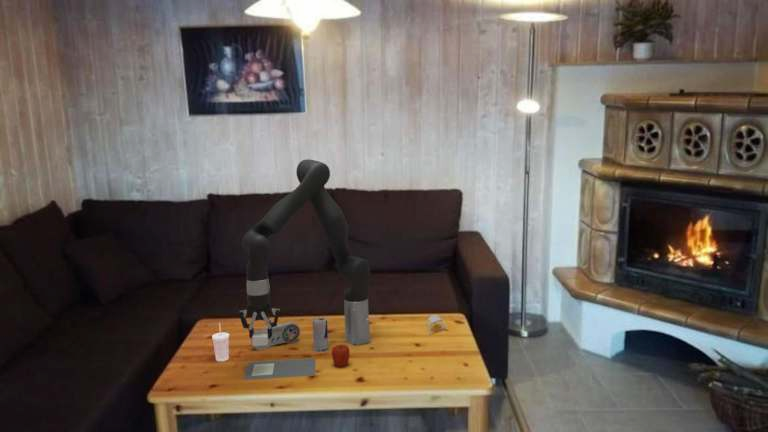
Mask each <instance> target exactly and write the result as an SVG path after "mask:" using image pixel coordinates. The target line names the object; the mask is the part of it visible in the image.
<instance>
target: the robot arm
mask: <svg viewBox="0 0 768 432" xmlns="http://www.w3.org/2000/svg"><path fill="white" fill-rule="evenodd" d="M295 174H296V177H297V180H298V182H299V185H298V186H296V188H295V189H293V190H292V191H291V192H290V193H288V194H287V195H286V196H284V197H283V198H282V199H280V200H279V201H277V202H276V203H275V204H274V205H273V206H272V207H270V210H269V211H268V212H267V213H266V214H265V215H264V217H263V218H262V219H261V220H259V222H257V223H256V224H255V225H254V226H252V227H251V228H250V229H249V230H248V231H246V233H245V234H244V236H243V237H242V240H241V247H242V249H243V251H245V252H246V253H248V254H249V261H248V262H247V263H246V266H245V268H246V269H245V270H246V271H245V272H246V299H247V301H246V302H247V307H246V309H244V310H243V309H240V310H239V312H238V315H239V319H240V322H241V324H242V327H243V328H244V329H248V336H249V339H251V338H252V336H253V334H254V329H255V328H254V325H255V323H256V321H264V323H265V324H266V327H268V329H267V331H268V339H270V337H272V327H276V326H277V325H278V320H279V315H280V311H281V309H280V307H277V308H274V307H272V305H271V295H270V292H271V291H270V289H271V288H270V281H269V276H268V275H269V273H268V263H269V256H270V243H269V241H268V238H270V237H271V236H273V235H277V234H279V232H280V231H282V229H283V228H284V226H285V225H286V224H287V223H288V221H290V219H291V218H292V217H293V216H294V215H295V214H296V212H297V211H298V210H299V209H300V208H301V207H302V206H303V205H304V204H305V203H307V201H309V202H310V204H311V206H312V209H313V211H314V213H315V215H316V218H317V221H318V223H319V226H320V227H321V230H322V232H323V234H324V236H325V239H326V241H327V242H328V246H329V248H330V250H331V252H332V255H333V258H334V261H335V264H336V268H337V272H338V273H339V275H340V277H341V278H343V279H344V280H346V281H350V287H349V288H348V289H345V290H344V292H343V305H344V306H343V307H344V334H345V336H344V337H345V343H348V344H350V345H353V346H361V345H366V344H369V343H371V339H370V338H371V337H370V335H371V333H370V330H371V329H370V316H369V292H370V289H371V268H370V263H369V262H368V260H366V259H364V258H361V257H357V256H355V255H353V253H352V251H351V249H350V247H349V243H348V235H349V224H348V223H347V220H346V217H345V215H344V212H343V211H342V209H341V207H340V206H339V205H338V204H337V202H336V201H335V200H334V199H333V198H332V196H331V195H330V194H329V192H328V191H327V188H326V187H325V186H326V184H327V183H328V182H329V180H330V177H331V171H330V167H329V166H328V165H327V164H326V163H324V162H321V161H319V160H314V159H308V158H307V159H303V160H301V161H300V162H299V163H298V164H297V166H296V173H295ZM271 313H272V314H273V316H274V319H273V322H272V321H271V318H270V314H271ZM247 314H248V315H249V317H250V318H251V320H250V323H248V320H247V318H246V316H247Z"/></svg>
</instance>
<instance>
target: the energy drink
mask: <svg viewBox="0 0 768 432" xmlns="http://www.w3.org/2000/svg"><path fill="white" fill-rule="evenodd" d="M328 332H329V331H328V320H327V318H325V317H315V318H314V319H313V320H312V333H313V334H312V335H313V336H312V337H313V350H314V351H315V352H316V353H317V352H318V353H320V352H321V353H322V352H323V353H324V352H326V351H328V350H329V333H328Z"/></svg>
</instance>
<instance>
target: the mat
mask: <svg viewBox="0 0 768 432" xmlns="http://www.w3.org/2000/svg"><path fill="white" fill-rule="evenodd" d="M245 368H246V369H245V373H244V376H243V381H247V380H263V379H276V378H277V379H278V378H292V377H293V378H295V377H308V376H311V377H312V376H316V357H310V358H309V357H308V358H297V359H295V358H292V359H281V360H280V359H278V360H277V359H276V360H261V361H249V362H248V361H247V365H246V367H245Z"/></svg>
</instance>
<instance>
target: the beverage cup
mask: <svg viewBox="0 0 768 432" xmlns="http://www.w3.org/2000/svg"><path fill="white" fill-rule="evenodd" d="M218 327H219V328H218V329H219V332H217V333H214V334H212V336H211V338H212V342H213V347H214V355H215V356H214V357H215V360H216V361H217V362H225V361H227V360H229V357H230V355H229V354H230V353H229V351H230V350H229V349H230V347H229V344H230V342H229V339H230V333H229V332H222V330H221V327H222V326H221V322H218Z"/></svg>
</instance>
